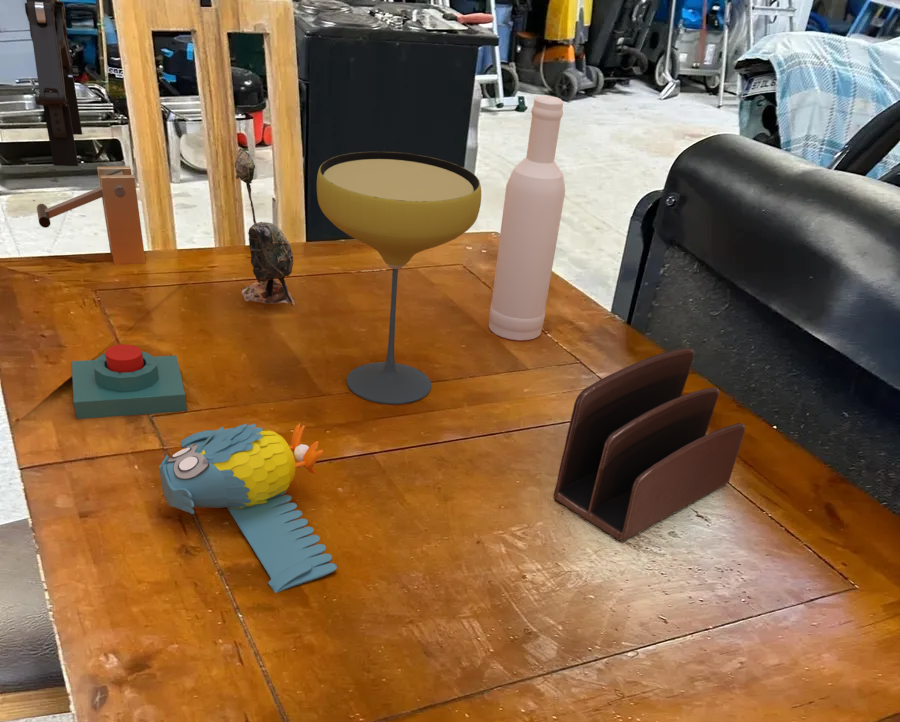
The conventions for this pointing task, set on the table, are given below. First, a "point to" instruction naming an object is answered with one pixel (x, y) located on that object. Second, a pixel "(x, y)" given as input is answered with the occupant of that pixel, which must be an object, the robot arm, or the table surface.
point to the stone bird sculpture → (265, 250)
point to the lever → (67, 205)
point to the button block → (127, 388)
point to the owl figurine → (251, 494)
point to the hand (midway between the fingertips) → (68, 149)
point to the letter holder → (643, 446)
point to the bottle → (529, 230)
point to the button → (124, 358)
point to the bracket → (122, 215)
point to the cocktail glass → (396, 234)
